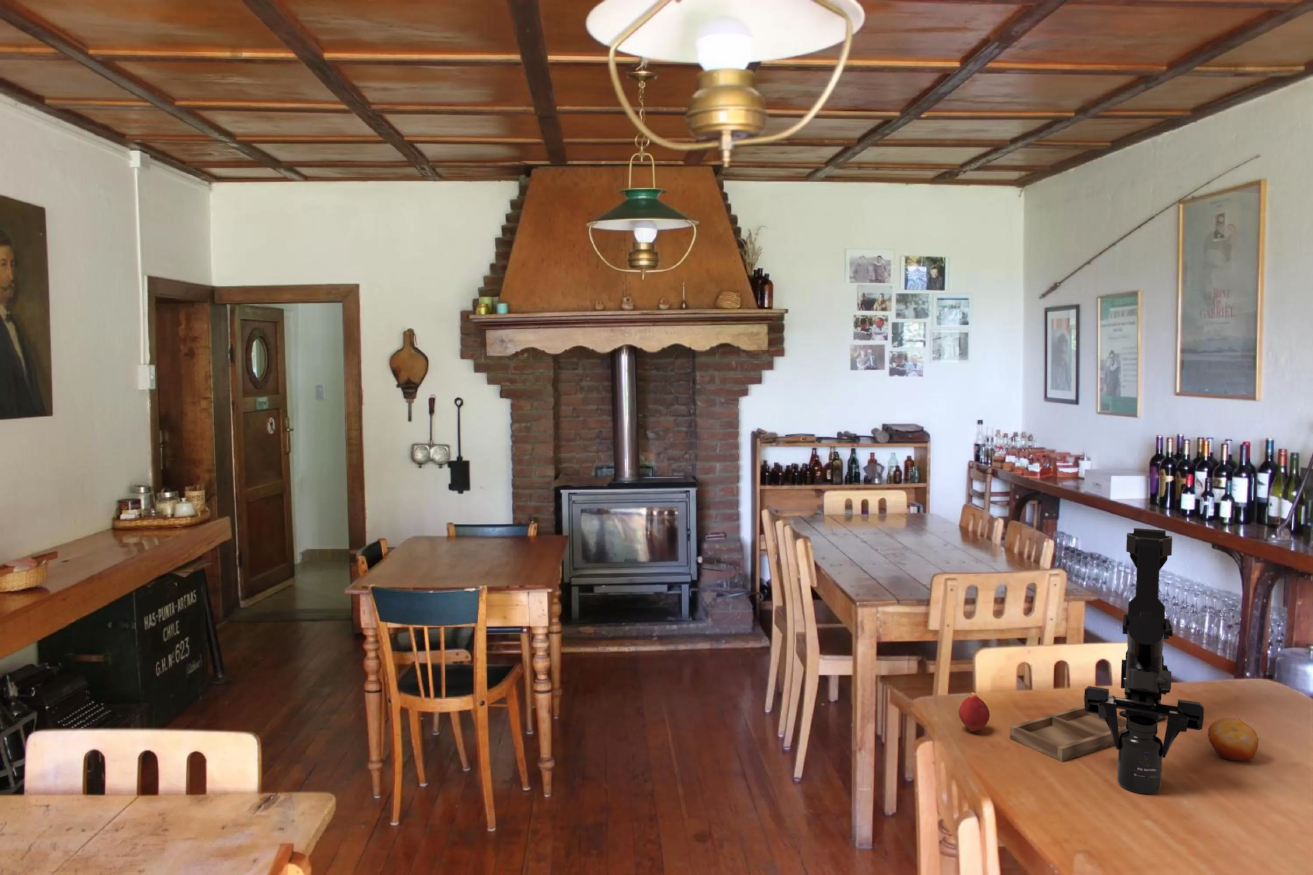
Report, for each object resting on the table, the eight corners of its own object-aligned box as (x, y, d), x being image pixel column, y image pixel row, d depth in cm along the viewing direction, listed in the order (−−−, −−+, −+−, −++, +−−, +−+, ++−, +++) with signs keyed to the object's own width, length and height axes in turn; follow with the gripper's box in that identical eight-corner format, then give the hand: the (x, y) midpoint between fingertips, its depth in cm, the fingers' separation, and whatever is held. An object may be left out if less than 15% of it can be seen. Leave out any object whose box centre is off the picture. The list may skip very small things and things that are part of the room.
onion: (984, 725, 188) (985, 687, 187) (992, 737, 182) (993, 698, 181) (955, 724, 188) (956, 687, 188) (962, 736, 183) (963, 697, 182)
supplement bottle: (1144, 798, 157) (1147, 730, 156) (1108, 782, 163) (1110, 716, 162) (1169, 789, 160) (1172, 722, 159) (1133, 773, 166) (1136, 709, 165)
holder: (1086, 715, 192) (1087, 704, 192) (1140, 736, 182) (1140, 724, 182) (1009, 738, 182) (1010, 726, 181) (1061, 761, 171) (1062, 748, 171)
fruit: (1252, 740, 176) (1257, 714, 172) (1256, 776, 170) (1262, 749, 166) (1203, 733, 180) (1207, 707, 175) (1206, 768, 174) (1211, 741, 169)
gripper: (1086, 642, 167) (1079, 722, 159) (1205, 658, 158) (1205, 743, 150) (1088, 671, 175) (1082, 749, 166) (1202, 687, 166) (1201, 770, 157)
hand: (1140, 752), depth 160 cm, fingers closed on supplement bottle, 7 cm apart
